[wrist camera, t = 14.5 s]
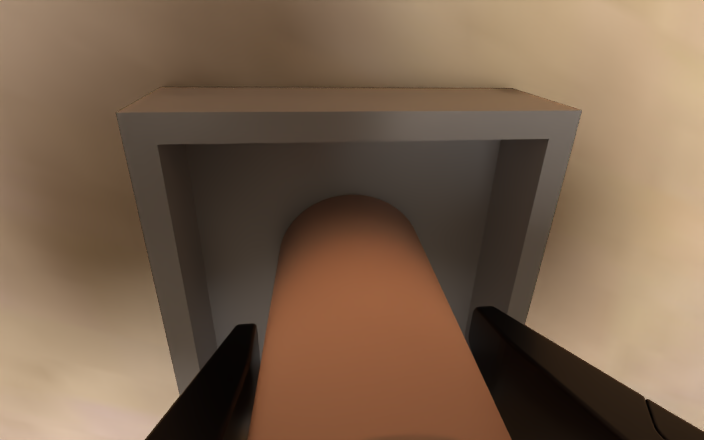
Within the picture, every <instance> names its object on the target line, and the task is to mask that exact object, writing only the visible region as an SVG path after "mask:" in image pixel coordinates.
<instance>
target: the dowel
mask: <svg viewBox="0 0 704 440" xmlns="http://www.w3.org/2000/svg"><path fill="white" fill-rule="evenodd" d="M247 440H512V439H511V437H510V435H509V433H508V431H507V428H506V426H505V424H504V422H503V420H502V418H501V416H500V413H499V411H498V409H497V407H496V405H495V403H494V400H493V398H492V396H491V394H490V392H489V390H488V387H487V385H486V383H485V381H484V379H483V377H482V374H481V372H480V370H479V368H478V366H477V364H476V361H475V359H474V357H473V355H472V353H471V351H470V349H469V346H468V344H467V342H466V340H465V338H464V336H463V333H462V331H461V329H460V327H459V325H458V323H457V320H456V318H455V316H454V314H453V312H452V310H451V307H450V305H449V303H448V301H447V299H446V297H445V294H444V292H443V290H442V288H441V286H440V284H439V281H438V279H437V277H436V275H435V273H434V271H433V269H432V266H431V264H430V262H429V260H428V258H427V256H426V253H425V251H424V249H423V247H422V245H421V243H420V240H419V238H418V236H417V234H416V232H415V230H414V228H413V226H412V224H411V223H410V221H409V220H408V219H407V218H406V217H405V216H404V214H402V213H401V212H400V211H399V210H398V209H397V208H395V207H393V206H392V205H390V204H389V203H387V202H384V201H382V200H380V199H377V198H373V197H369V196H364V195H341V196H336V197H331V198H328V199H325V200H322V201H320V202H318V203H316V204H314V205H312V206H310V207H309V208H307V209H306V210H305V211H303V212H302V213H301V214H300V215H298V217H297V218H296V219H295V220H294V221H293V222H292V223H291V225H290V226H289V228H288V229H287V231H286V233H285V235H284V237H283V240H282V243H281V247H280V252H279V258H278V264H277V270H276V276H275V282H274V287H273V293H272V299H271V305H270V311H269V317H268V322H267V328H266V334H265V340H264V346H263V352H262V357H261V363H260V369H259V375H258V381H257V387H256V392H255V398H254V404H253V410H252V416H251V422H250V427H249V433H248V439H247Z"/></svg>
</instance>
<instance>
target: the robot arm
mask: <svg viewBox="0 0 704 440" xmlns="http://www.w3.org/2000/svg"><path fill="white" fill-rule="evenodd" d="M468 339H469V345H470V348H471V351H472V354H473V356H474V359H475V361H476V364H477V366H478V368H479V370H480V372H481V374H482V377H483V379H484V381H485V383H486V385H487V387H488V390H489V392H490V394H491V396H492V398H493V400H494V403H495V405H496V407H497V409H498V411H499V413H500V416H501V418H502V420H503V422H504V424H505V426H506V428H507V431H508V433H509V435H510V437H511V439H512V440H704V431H702V430H700V429H698V428H697V427H695V426H693V425H691V424H690V423H688V422H686V421H685V420H683V419H681V418H679V417H678V416H676V415H674V414H672V413H671V412H669V411H667V410H666V409H664V408H662V407H661V406H659V405H657V404H656V403H654V402H652V401H651V400H649V399H646V400H645V398H644V396H642V395H641V394H639V393H637V392H636V391H634V390H632V389H631V388H629V387H627V386H626V385H624V384H622V383H621V382H619V381H617V380H616V379H614V378H612V377H611V376H609V375H607V374H606V373H604V372H602V371H601V370H599V369H597V368H596V367H594V366H592V365H591V364H589V363H587V362H586V361H584V360H582V359H581V358H579V357H577V356H576V355H574V354H572V353H571V352H569V351H567V350H566V349H564V348H562V347H561V346H559V345H557V344H556V343H554V342H552V341H551V340H549V339H547V338H546V337H544V336H542V335H541V334H539V333H537V332H536V331H534V330H532V329H531V328H529V327H527V326H526V325H524V324H522V323H521V322H519V321H517V320H516V319H514V318H512V317H511V316H509V315H507V314H506V313H504V312H502V311H501V310H499V309H497V308H496V307H494V306H479V307H476V308H474V310H473V313H472V318H471V324H470V329H469V335H468ZM259 369H260V351H259V341H258V331H257V326H256V324H254V323H249V324H238V325H236V326H235V327H234V328H233V330H232V331H231V332H230V334H229V335H228V336H227V337H226V339H225V340H224V341H223V342H222V344H221V345H220V346H219V347H218V349H217V350H216V351H215V352H214V354H213V355H212V356H211V357H210V359H209V360H208V361H207V362H206V364H205V365H204V366H203V367H202V369H201V370H200V371H199V372H198V374H197V375H196V376H195V377H194V379H193V380H192V381H191V382H190V384H189V385H188V386H187V387H186V389H185V390H184V391H183V392H182V394H181V395H180V396H179V398H178V399H177V400H176V401H175V403H174V404H173V405H172V406H171V408H170V409H169V410H168V411H167V413H166V414H165V415H164V416H163V418H162V419H161V420H160V421H159V423H158V424H157V425H156V426H155V428H154V429H153V430H152V431H151V433H150V434H149V435H148V436H147V438H146V439H145V440H247V439H248V433H249V427H250V422H251V416H252V410H253V404H254V398H255V392H256V387H257V381H258V375H259Z"/></svg>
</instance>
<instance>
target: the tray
mask: <svg viewBox="0 0 704 440" xmlns="http://www.w3.org/2000/svg"><path fill="white" fill-rule="evenodd" d="M581 112H582V110H579V109H576V108H573V107H570V106H566V105H563V104H560V103H557V102H554V101H551V100H548V99H544V98H541V97H538V96H535V95H532V94H529V93H526V92H522V91H519V90H516V89H513V88H268V87H160V88H158V89H157V90H155V91H153V92H151V93H150V94H148V95H146V96H144V97H142V98H141V99H139V100H137V101H135V102H134V103H132V104H130V105H128V106H126V107H125V108H123V109H121V110H119V111H118V112H116V116H117V120H118V125H119V129H120V134H121V138H122V142H123V147H124V151H125V156H126V160H127V164H128V169H129V173H130V178H131V182H132V187H133V191H134V195H135V200H136V204H137V209H138V213H139V218H140V222H141V226H142V231H143V235H144V240H145V244H146V248H147V253H148V257H149V262H150V266H151V271H152V275H153V279H154V284H155V288H156V293H157V297H158V302H159V306H160V310H161V315H162V319H163V324H164V328H165V332H166V337H167V341H168V346H169V350H170V355H171V359H172V363H173V368H174V372H175V377H176V381H177V386H178V390H179V394H180V395H181V394H182V392H183V391H184V390H185V389H186V387H187V386H188V385H189V384H190V382H191V381H192V380H193V379H194V377H195V376H196V375H197V374H198V372H199V371H200V370H201V369H202V367H203V366H204V365H205V364H206V362H207V361H208V360H209V359H210V357H211V356H212V355H213V354H214V352H215V351H216V350H217V349H218V347H219V346H220V345H221V344H222V342H223V341H224V340H225V339H226V337H227V336H228V335H229V334H230V332H231V331H232V330H233V328H234V327H235V326H236V325H238V324H249V323H254V324H256V326H257V331H258V341H259V351H260V363H261V357H262V352H263V346H264V340H265V334H266V328H267V322H268V317H269V311H270V305H271V299H272V293H273V287H274V282H275V276H276V270H277V264H278V258H279V252H280V247H281V243H282V240H283V237H284V235H285V233H286V231H287V229H288V228H289V226H290V225H291V223H292V222H293V221H294V220H295V219H296V218H297V217H298V215H300V214H301V213H302V212H303V211H305V210H306V209H307V208H309V207H310V206H312V205H314V204H316V203H318V202H320V201H322V200H325V199H328V198H331V197H336V196H341V195H364V196H369V197H373V198H377V199H380V200H382V201H384V202H387V203H389V204H390V205H392V206H393V207H395V208H397V209H398V210H399V211H400V212H401V213H402V214H404V216H405V217H406V218H407V219H408V220H409V221H410V223H411V224H412V226H413V228H414V230H415V232H416V234H417V236H418V238H419V240H420V243H421V245H422V247H423V249H424V251H425V253H426V256H427V258H428V260H429V262H430V264H431V266H432V269H433V271H434V273H435V275H436V277H437V279H438V281H439V284H440V286H441V288H442V290H443V292H444V294H445V297H446V299H447V301H448V303H449V305H450V307H451V310H452V312H453V314H454V316H455V318H456V320H457V323H458V325H459V327H460V329H461V331H462V333H463V336H464V338H465V340H466V342H467V344H468V346H469V349H470V351H471V348H470V345H469V339H468V335H469V329H470V324H471V318H472V313H473V310H474V308H476V307H479V306H494V307H496V308H497V309H499V310H501V311H502V312H504V313H506V314H507V315H509V316H511V317H512V318H514V319H516V320H517V321H519V322H521V323H522V324H524V325H525V322H526V318H527V314H528V311H529V307H530V303H531V299H532V296H533V292H534V288H535V285H536V281H537V277H538V273H539V270H540V266H541V262H542V258H543V255H544V251H545V247H546V243H547V240H548V236H549V232H550V228H551V225H552V221H553V217H554V213H555V210H556V206H557V202H558V198H559V195H560V191H561V187H562V183H563V180H564V176H565V172H566V169H567V165H568V161H569V157H570V154H571V150H572V146H573V142H574V139H575V135H576V131H577V127H578V124H579V120H580V116H581ZM471 353H472V351H471ZM472 355H473V354H472ZM473 357H474V356H473Z"/></svg>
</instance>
